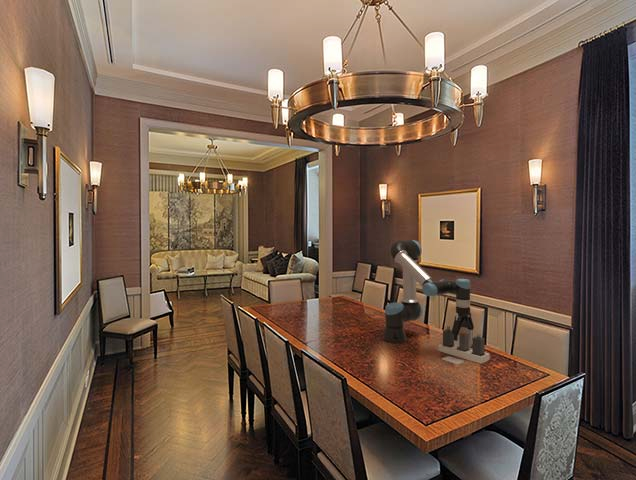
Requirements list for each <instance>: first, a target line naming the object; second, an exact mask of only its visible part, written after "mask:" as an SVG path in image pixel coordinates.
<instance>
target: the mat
mask: <svg viewBox="0 0 636 480" xmlns="http://www.w3.org/2000/svg"><path fill="white" fill-rule="evenodd" d="M441 360H442V361H446V362H448V363H449V362H450V363H453V364H455V365H460V364H462V363H464V362H465V360H464V359H461V358H457V357H454V356H453V357H452V356H451V355H447V356H445V357H443V358H441Z"/></svg>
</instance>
